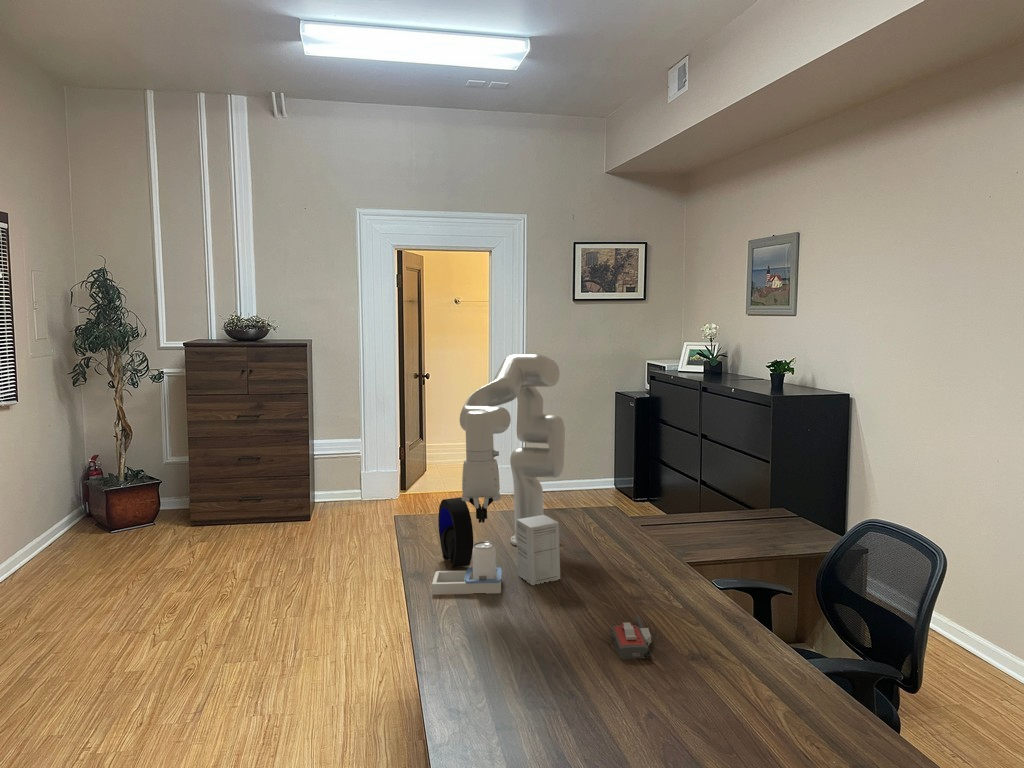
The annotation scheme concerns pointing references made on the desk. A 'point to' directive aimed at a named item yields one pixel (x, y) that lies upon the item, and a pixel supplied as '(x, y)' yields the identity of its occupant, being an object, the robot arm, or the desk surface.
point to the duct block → (464, 583)
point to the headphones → (455, 531)
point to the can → (484, 560)
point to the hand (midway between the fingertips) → (481, 521)
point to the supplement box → (538, 549)
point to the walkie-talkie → (631, 640)
